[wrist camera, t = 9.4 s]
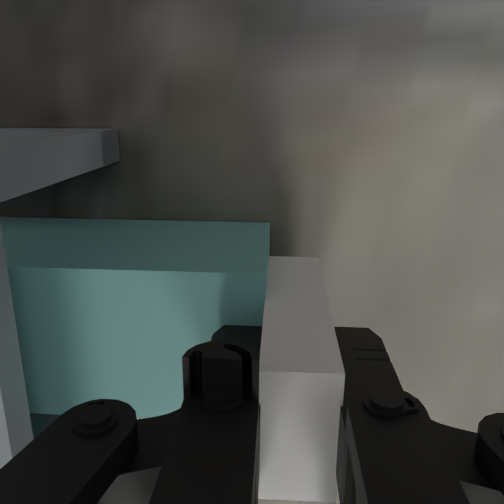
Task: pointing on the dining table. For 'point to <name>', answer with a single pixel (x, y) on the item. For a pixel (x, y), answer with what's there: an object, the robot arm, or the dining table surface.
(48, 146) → the tunnel
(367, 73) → the dining table surface
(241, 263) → the teal rod
